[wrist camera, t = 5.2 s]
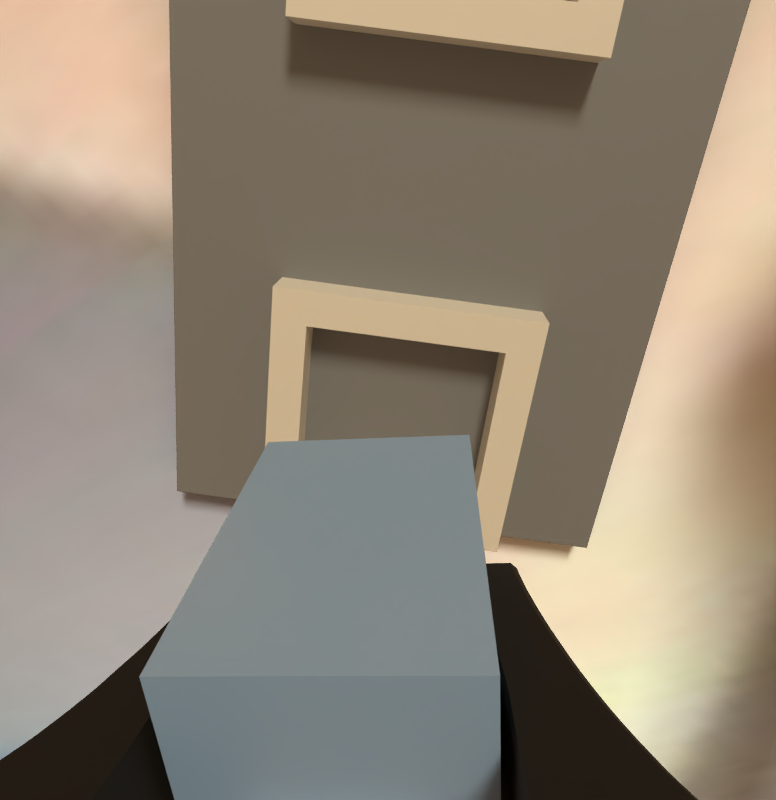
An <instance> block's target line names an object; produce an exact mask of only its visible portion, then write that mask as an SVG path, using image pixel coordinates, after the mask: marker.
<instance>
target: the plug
mask: <svg viewBox="0 0 776 800" xmlns="http://www.w3.org/2000/svg"><path fill="white" fill-rule="evenodd" d="M139 678H140V681H141V685H142V688H143V692H144V695H145V699H146V702H147V706H148V709H149V713H150V716H151V720H152V723H153V727H154V730H155V734H156V737H157V741H158V744H159V748H160V751H161V755H162V758H163V762H164V765H165V769H166V772H167V776H168V779H169V782H170V786H171V789H172V793H173V796H174V800H501V736H500V670H499V663H498V655H497V647H496V639H495V631H494V623H493V616H492V608H491V600H490V592H489V584H488V577H487V569H486V561H485V553H484V545H483V537H482V530H481V522H480V514H479V506H478V498H477V490H476V483H475V475H474V467H473V459H472V451H471V443H470V436H469V435H449V436H421V437H393V438H366V439H338V440H310V441H283V442H268V443H267V445H266V447H265V449H264V451H263V453H262V454H261V456H260V458H259V460H258V462H257V463H256V465H255V467H254V469H253V471H252V473H251V474H250V476H249V478H248V480H247V482H246V483H245V485H244V487H243V489H242V491H241V493H240V494H239V496H238V498H237V500H236V502H235V503H234V505H233V507H232V509H231V511H230V513H229V514H228V516H227V518H226V520H225V522H224V523H223V525H222V527H221V529H220V531H219V533H218V534H217V536H216V538H215V540H214V542H213V543H212V545H211V547H210V549H209V551H208V553H207V554H206V556H205V558H204V560H203V562H202V563H201V565H200V567H199V569H198V571H197V573H196V574H195V576H194V578H193V580H192V582H191V583H190V585H189V587H188V589H187V591H186V593H185V594H184V596H183V598H182V600H181V602H180V603H179V605H178V607H177V609H176V611H175V613H174V614H173V616H172V618H171V620H170V622H169V623H168V625H167V627H166V629H165V631H164V633H163V634H162V636H161V638H160V640H159V642H158V643H157V645H156V647H155V649H154V651H153V653H152V654H151V656H150V658H149V660H148V662H147V663H146V665H145V667H144V669H143V671H142V673H141V674H140V676H139Z"/></svg>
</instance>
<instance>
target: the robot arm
mask: <svg viewBox="0 0 776 800" xmlns="http://www.w3.org/2000/svg"><path fill="white" fill-rule="evenodd" d="M486 569H487V577H488V584H489V592H490V600H491V608H492V616H493V623H494V631H495V639H496V647H497V655H498V663H499V670H500V736H501V800H698V799H697V798H695V797H694V796H693V795H692V794H691V793H690V792H689V791H688V790H687V789H686V788H685V787H684V786H683V785H682V784H681V783H679V782H678V781H677V780H676V779H675V778H674V777H673V776H672V775H671V774H670V773H669V772H668V771H667V770H666V769H665V768H664V767H663V766H662V765H661V764H660V763H659V762H658V761H657V760H656V759H655V758H654V757H653V755H652V754H651V753H650V752H649V751H648V750H647V749H646V748H645V747H644V746H643V745H642V744H641V743H640V742H639V741H638V740H637V739H636V737H635V736H634V735H633V734H632V733H631V732H630V731H629V730H628V729H627V727H626V726H625V725H624V724H623V723H622V722H621V721H620V720H619V719H618V717H617V716H616V715H615V714H614V713H613V712H612V710H611V709H610V708H609V707H608V706H607V704H606V703H605V702H604V701H603V700H602V698H601V697H600V696H599V695H598V693H597V692H596V691H595V690H594V688H593V687H592V686H591V684H590V683H589V682H588V681H587V679H586V678H585V677H584V675H583V674H582V673H581V672H580V670H579V669H578V668H577V666H576V665H575V663H574V662H573V661H572V659H571V658H570V657H569V655H568V654H567V652H566V651H565V649H564V648H563V646H562V645H561V644H560V642H559V641H558V639H557V638H556V636H555V635H554V633H553V632H552V630H551V629H550V627H549V626H548V624H547V623H546V621H545V620H544V618H543V616H542V615H541V613H540V611H539V610H538V608H537V606H536V605H535V603H534V601H533V600H532V598H531V596H530V594H529V593H528V591H527V589H526V587H525V585H524V583H523V581H522V579H521V577H520V575H519V573H518V570H517V568H516V567H515V566H513V565H512V564H511V563H492V564H486ZM169 622H170V621H169ZM169 622H168V623H169ZM168 623H167V624H166V625H165V626H164V627H163V628H162V629H161V630H160V631H159V632H158V633H157V634H156V635H155V636H153V637H152V638H151V639H150V640H149V641H148V642H147V643H146V644H145V645H144V646H143V647H142V648H141V649H140V650H139V651H137V652H136V653H135V654H134V655H133V656H132V657H131V658H130V659H128V660H127V661H126V662H125V663H124V664H123V665H122V666H121V667H119V668H118V669H117V670H116V671H115V672H114V673H113V674H112V675H110V676H109V677H108V678H107V679H106V680H105V681H104V682H103V683H101V684H100V685H99V686H98V687H97V688H96V689H95V690H93V691H92V692H91V693H90V694H89V695H87V696H86V697H85V698H84V699H82V700H81V701H80V702H79V703H77V704H76V705H75V706H74V707H73V708H71V709H70V710H69V711H67V712H66V713H65V714H64V715H62V716H61V717H60V718H58V719H57V720H56V721H54V722H53V723H52V724H50V725H49V726H48V727H46V728H45V729H44V730H43V731H41V732H40V733H39V734H37V735H36V736H34V737H33V738H32V739H30V740H29V741H28V742H26V743H25V744H23V745H22V746H20V747H19V748H17V749H16V750H14V751H13V752H12V753H10V754H9V755H7V756H6V757H4V758H3V759H1V760H0V800H174V796H173V793H172V789H171V786H170V782H169V779H168V776H167V772H166V769H165V765H164V762H163V758H162V755H161V751H160V748H159V744H158V741H157V737H156V734H155V730H154V727H153V723H152V720H151V716H150V713H149V709H148V706H147V702H146V699H145V695H144V692H143V688H142V685H141V681H140V678H139V676H140V674H141V673H142V671H143V669H144V667H145V665H146V663H147V662H148V660H149V658H150V656H151V654H152V653H153V651H154V649H155V647H156V645H157V643H158V642H159V640H160V638H161V636H162V634H163V633H164V631H165V629H166V627H167V625H168Z"/></svg>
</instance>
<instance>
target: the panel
mask: <svg viewBox="0 0 776 800" xmlns="http://www.w3.org/2000/svg"><path fill="white" fill-rule="evenodd" d="M750 1H751V0H169V17H170V78H171V139H172V201H173V262H174V323H175V384H176V445H177V491H181V492H188V493H195V494H202V495H209V496H217V497H224V498H231V499H237V498H238V496H239V494H240V493H241V491H242V489H243V487H244V485H245V483H246V482H247V480H248V478H249V476H250V474H251V473H252V471H253V469H254V467H255V465H256V463H257V462H258V460H259V458H260V456H261V454H262V453H263V451H264V449H265V447H266V445H267V443H268V442H283V441H310V440H338V439H366V438H393V437H421V436H449V435H469V436H470V443H471V451H472V459H473V467H474V475H475V483H476V490H477V498H478V506H479V514H480V522H481V530H482V537H483V545H484V550H488V551H496V552H497V549H498V545H499V541H500V536H505V537H512V538H520V539H527V540H534V541H541V542H548V543H556V544H563V545H570V546H577V547H585V548H587V545H588V542H589V538H590V535H591V532H592V528H593V525H594V522H595V518H596V515H597V512H598V508H599V505H600V502H601V498H602V495H603V492H604V488H605V485H606V481H607V478H608V475H609V471H610V468H611V465H612V461H613V458H614V455H615V451H616V448H617V445H618V441H619V438H620V435H621V431H622V428H623V425H624V421H625V418H626V415H627V411H628V408H629V405H630V401H631V398H632V395H633V391H634V388H635V385H636V381H637V378H638V375H639V371H640V368H641V365H642V361H643V358H644V355H645V351H646V348H647V345H648V341H649V338H650V335H651V331H652V328H653V325H654V321H655V318H656V315H657V311H658V308H659V305H660V301H661V298H662V294H663V291H664V288H665V284H666V281H667V278H668V274H669V271H670V268H671V264H672V261H673V258H674V254H675V251H676V248H677V244H678V241H679V238H680V234H681V231H682V228H683V224H684V221H685V218H686V214H687V211H688V208H689V204H690V201H691V198H692V194H693V191H694V188H695V184H696V181H697V178H698V174H699V171H700V168H701V164H702V161H703V158H704V154H705V151H706V148H707V144H708V141H709V138H710V134H711V131H712V128H713V124H714V121H715V118H716V114H717V111H718V107H719V104H720V101H721V97H722V94H723V91H724V87H725V84H726V81H727V77H728V74H729V71H730V67H731V64H732V61H733V57H734V54H735V51H736V47H737V44H738V41H739V37H740V34H741V31H742V27H743V24H744V21H745V17H746V14H747V11H748V7H749V4H750Z"/></svg>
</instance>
